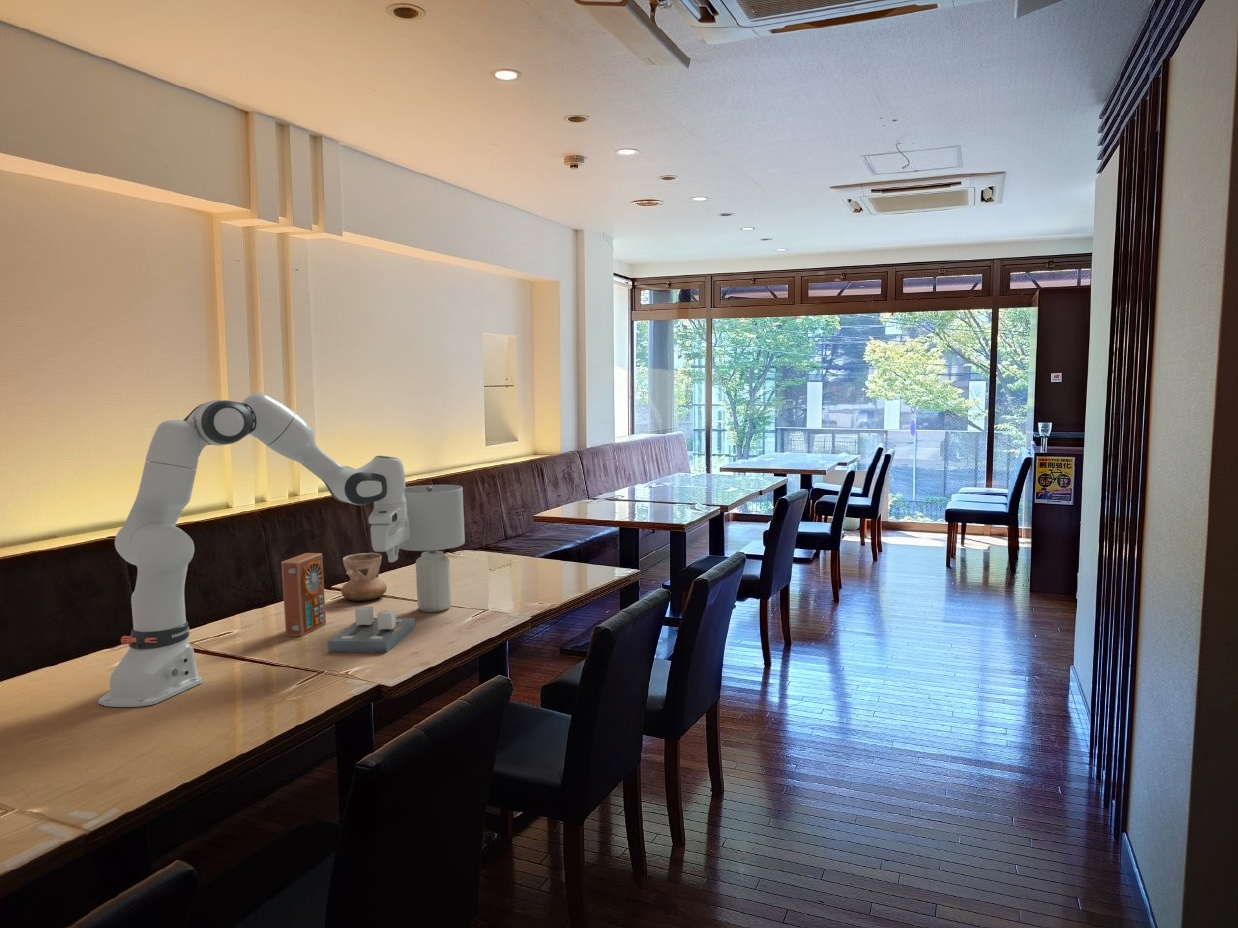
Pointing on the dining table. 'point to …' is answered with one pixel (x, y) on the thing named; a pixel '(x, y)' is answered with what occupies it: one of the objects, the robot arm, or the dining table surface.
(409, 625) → the breaker box
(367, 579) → the ceramic jug
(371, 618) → the block
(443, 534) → the lamp
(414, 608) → the dining table surface
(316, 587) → the control panel
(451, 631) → the dining table surface
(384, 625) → the block
